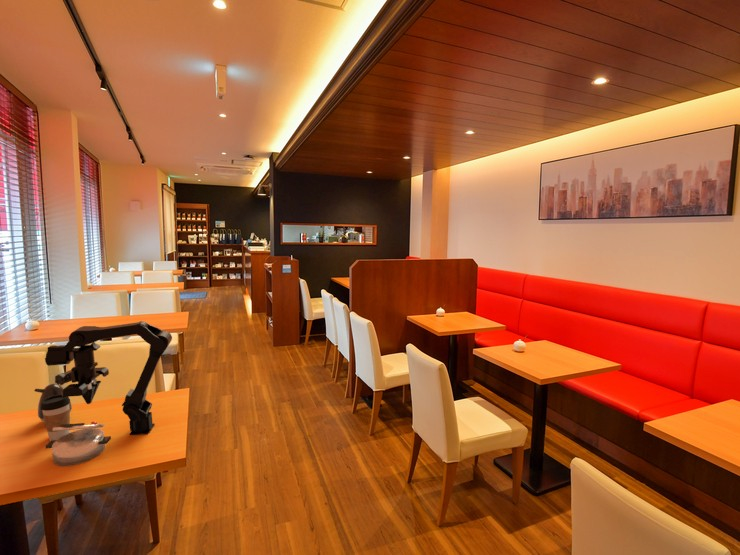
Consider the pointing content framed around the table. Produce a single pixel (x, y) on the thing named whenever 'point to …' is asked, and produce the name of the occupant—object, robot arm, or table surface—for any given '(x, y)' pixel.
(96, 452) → the pot
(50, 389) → the pump dispenser
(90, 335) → the robot arm
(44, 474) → the table surface
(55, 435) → the coffee cup
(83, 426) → the lid
